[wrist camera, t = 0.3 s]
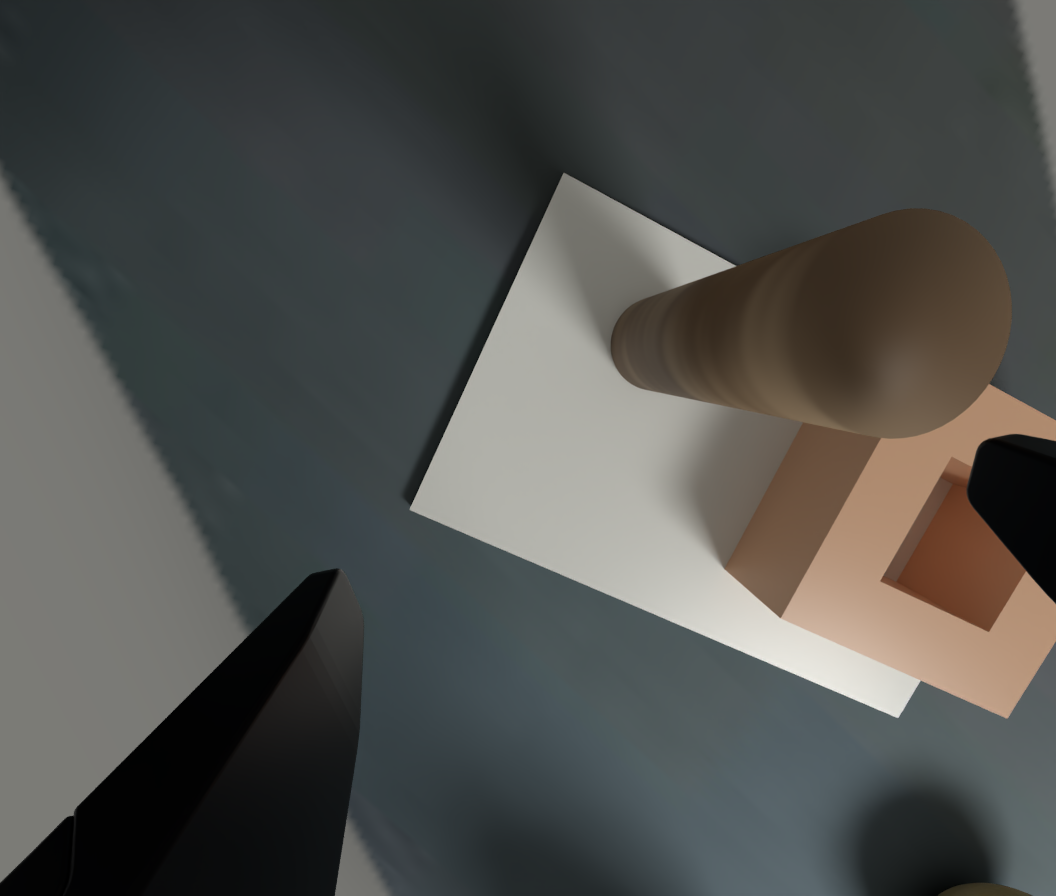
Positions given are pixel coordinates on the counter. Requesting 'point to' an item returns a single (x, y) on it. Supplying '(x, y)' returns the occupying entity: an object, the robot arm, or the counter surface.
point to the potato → (982, 890)
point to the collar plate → (730, 490)
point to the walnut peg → (834, 328)
